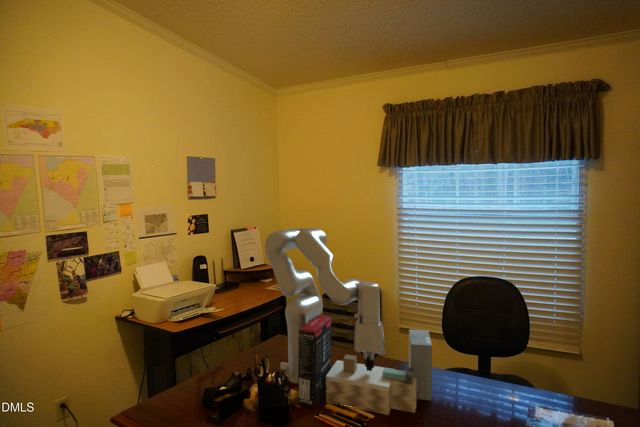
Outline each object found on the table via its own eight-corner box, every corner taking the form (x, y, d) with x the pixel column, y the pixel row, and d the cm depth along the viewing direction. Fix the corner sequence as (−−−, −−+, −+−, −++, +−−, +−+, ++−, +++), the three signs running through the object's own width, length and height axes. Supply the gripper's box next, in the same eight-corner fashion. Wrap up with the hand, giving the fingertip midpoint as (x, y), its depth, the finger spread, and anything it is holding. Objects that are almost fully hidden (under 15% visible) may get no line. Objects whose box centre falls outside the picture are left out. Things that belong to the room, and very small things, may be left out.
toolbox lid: (325, 380, 127) (325, 362, 127) (337, 364, 139) (337, 347, 139) (388, 391, 120) (388, 372, 119) (394, 373, 132) (394, 355, 131)
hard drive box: (432, 401, 127) (432, 346, 127) (409, 399, 129) (409, 344, 128) (428, 379, 143) (428, 329, 142) (408, 377, 144) (408, 328, 143)
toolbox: (326, 402, 128) (325, 367, 127) (337, 384, 140) (337, 352, 139) (413, 419, 117) (413, 381, 117) (417, 398, 129) (417, 363, 129)
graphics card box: (315, 382, 141) (315, 313, 140) (332, 385, 139) (331, 315, 138) (297, 406, 125) (296, 329, 124) (316, 410, 123) (315, 331, 122)
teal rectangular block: (382, 377, 125) (382, 371, 125) (384, 373, 128) (384, 367, 128) (412, 382, 122) (412, 376, 122) (413, 378, 124) (413, 372, 124)
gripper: (345, 319, 126) (346, 370, 127) (388, 323, 121) (389, 377, 122) (351, 312, 134) (352, 361, 134) (392, 316, 128) (392, 367, 129)
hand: (369, 369), depth 128 cm, fingers closed
